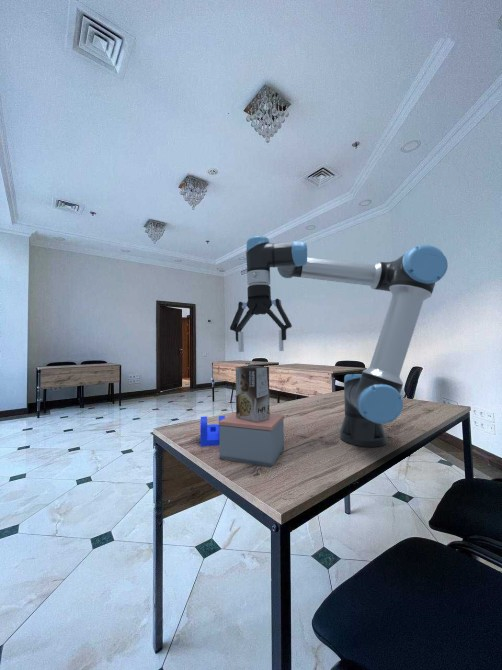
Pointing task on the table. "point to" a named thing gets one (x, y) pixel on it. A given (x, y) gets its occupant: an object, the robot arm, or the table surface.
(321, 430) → the table surface
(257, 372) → the coffee box
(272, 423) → the lid
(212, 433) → the bracket
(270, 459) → the box
